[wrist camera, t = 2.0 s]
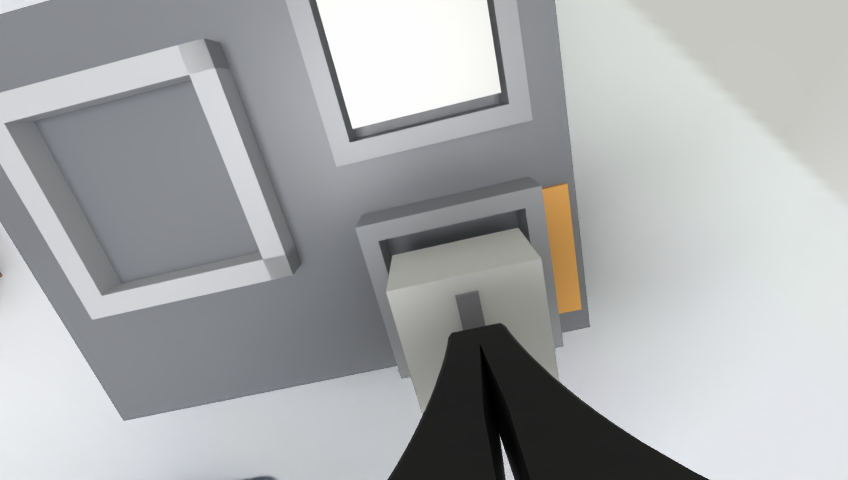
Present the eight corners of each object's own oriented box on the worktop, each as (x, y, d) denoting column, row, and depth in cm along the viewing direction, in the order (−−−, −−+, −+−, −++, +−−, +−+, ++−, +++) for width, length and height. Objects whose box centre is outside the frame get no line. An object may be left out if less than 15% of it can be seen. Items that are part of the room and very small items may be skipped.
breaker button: (535, 336, 14) (560, 388, 11) (421, 359, 14) (421, 415, 11) (518, 227, 12) (542, 260, 10) (392, 255, 13) (385, 294, 10)
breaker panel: (575, 308, 17) (622, 370, 13) (146, 396, 19) (72, 476, 15) (526, -112, 12) (576, -210, 8) (-55, 50, 14) (-247, 32, 10)
